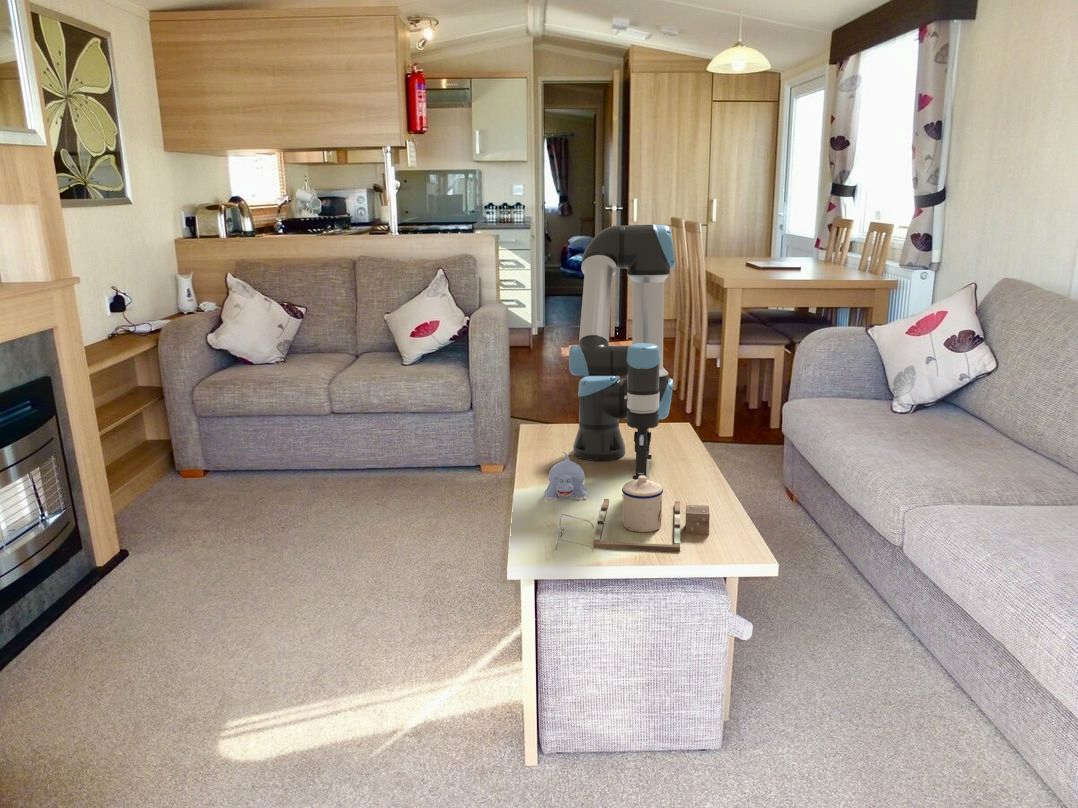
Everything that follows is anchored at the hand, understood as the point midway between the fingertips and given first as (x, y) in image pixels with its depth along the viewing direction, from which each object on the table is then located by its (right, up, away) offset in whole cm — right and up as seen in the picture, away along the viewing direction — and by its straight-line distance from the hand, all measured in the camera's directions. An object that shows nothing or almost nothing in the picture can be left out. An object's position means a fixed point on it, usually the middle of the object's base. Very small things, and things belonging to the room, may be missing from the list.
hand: (642, 494), depth 193 cm
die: (+10, -6, -16) cm, 20 cm away
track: (-2, -5, -12) cm, 14 cm away
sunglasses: (-17, -8, -19) cm, 27 cm away
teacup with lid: (-2, -5, -11) cm, 13 cm away
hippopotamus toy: (-18, -2, +6) cm, 19 cm away
